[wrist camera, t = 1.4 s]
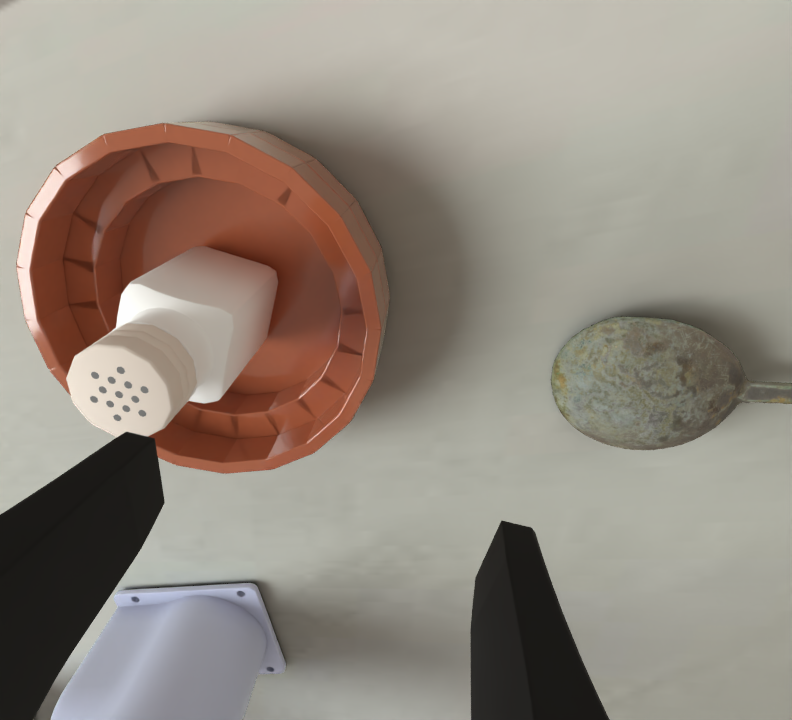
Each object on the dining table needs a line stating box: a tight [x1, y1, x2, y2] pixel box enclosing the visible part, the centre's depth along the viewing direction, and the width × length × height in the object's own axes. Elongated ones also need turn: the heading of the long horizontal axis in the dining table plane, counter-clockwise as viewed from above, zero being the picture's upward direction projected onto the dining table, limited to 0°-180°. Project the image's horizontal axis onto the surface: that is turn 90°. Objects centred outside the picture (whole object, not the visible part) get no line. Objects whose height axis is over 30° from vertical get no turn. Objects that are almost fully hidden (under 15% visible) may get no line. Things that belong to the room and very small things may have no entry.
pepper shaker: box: [66, 246, 278, 437], centre depth 20 cm, size 4×4×10 cm
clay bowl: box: [16, 122, 390, 474], centre depth 22 cm, size 14×14×4 cm
